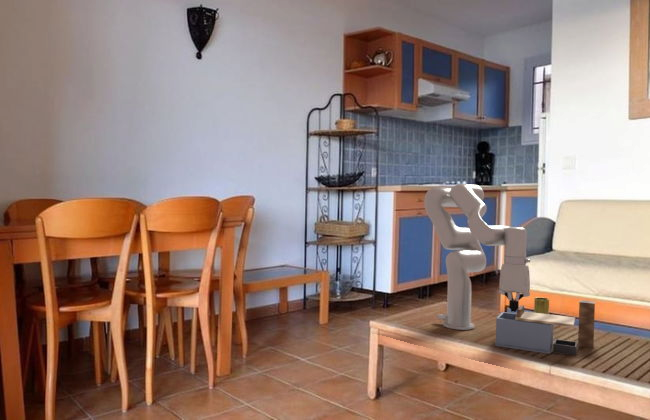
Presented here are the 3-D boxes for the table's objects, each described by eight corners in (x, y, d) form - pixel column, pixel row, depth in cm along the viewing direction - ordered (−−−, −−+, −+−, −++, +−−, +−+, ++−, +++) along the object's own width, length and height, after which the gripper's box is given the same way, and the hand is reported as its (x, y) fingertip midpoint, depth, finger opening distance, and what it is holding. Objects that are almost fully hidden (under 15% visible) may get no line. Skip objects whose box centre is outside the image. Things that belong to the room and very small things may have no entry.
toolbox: (495, 345, 187) (496, 318, 187) (501, 338, 197) (502, 311, 197) (549, 353, 178) (550, 324, 178) (552, 345, 189) (553, 318, 189)
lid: (515, 319, 183) (515, 310, 183) (520, 313, 194) (520, 304, 194) (573, 326, 174) (573, 317, 174) (575, 319, 185) (575, 310, 185)
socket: (553, 352, 180) (553, 343, 180) (554, 347, 186) (555, 339, 186) (576, 355, 177) (576, 347, 176) (577, 350, 183) (577, 342, 183)
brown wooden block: (577, 345, 189) (579, 302, 189) (578, 342, 193) (579, 299, 193) (593, 347, 187) (594, 303, 186) (593, 344, 191) (594, 301, 191)
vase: (550, 337, 200) (551, 300, 200) (533, 336, 201) (535, 299, 201) (547, 333, 206) (548, 297, 206) (530, 332, 207) (532, 296, 207)
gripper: (538, 261, 189) (537, 311, 189) (495, 258, 196) (494, 307, 196) (535, 263, 182) (534, 315, 182) (491, 260, 189) (490, 310, 190)
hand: (513, 311), depth 189 cm, fingers closed
